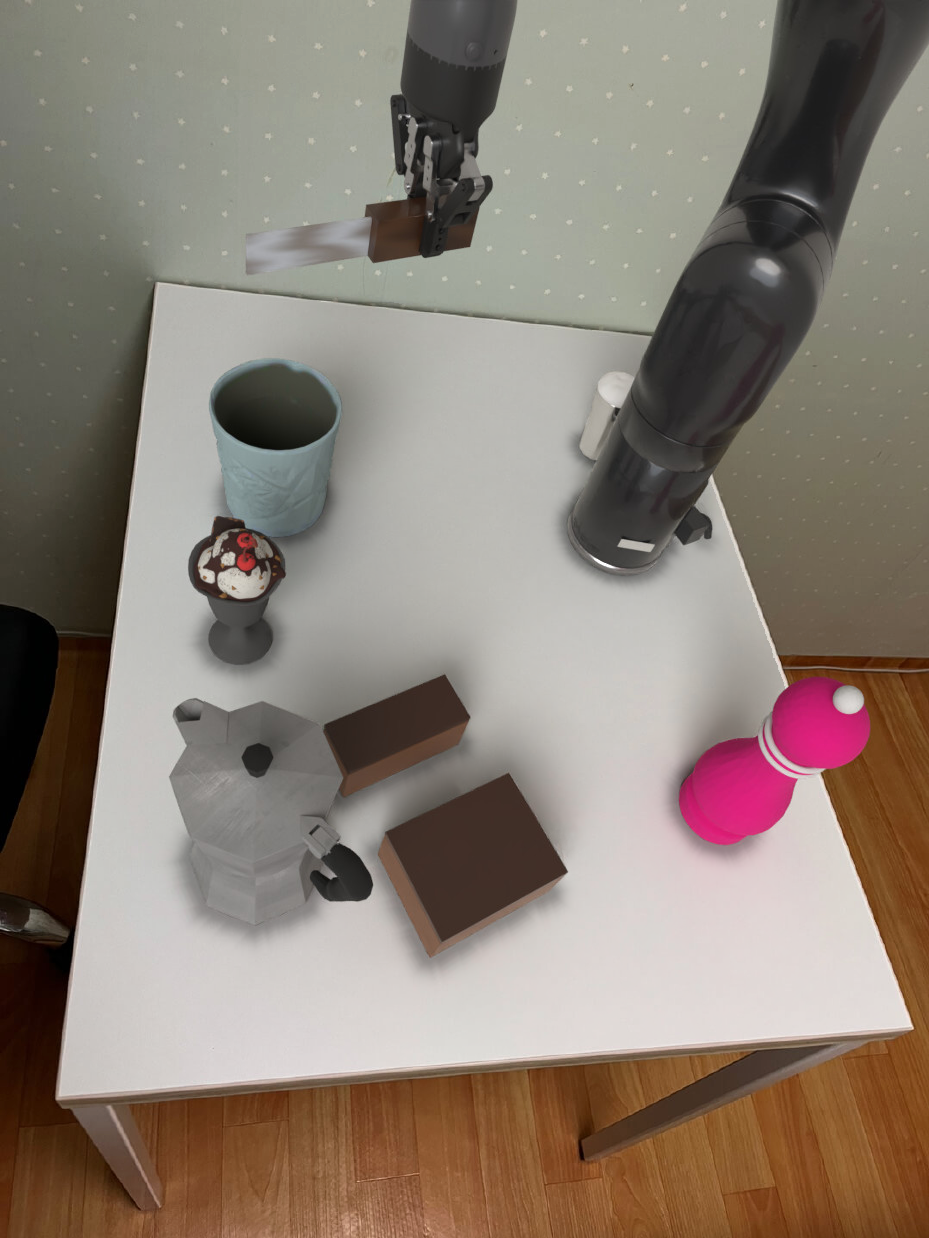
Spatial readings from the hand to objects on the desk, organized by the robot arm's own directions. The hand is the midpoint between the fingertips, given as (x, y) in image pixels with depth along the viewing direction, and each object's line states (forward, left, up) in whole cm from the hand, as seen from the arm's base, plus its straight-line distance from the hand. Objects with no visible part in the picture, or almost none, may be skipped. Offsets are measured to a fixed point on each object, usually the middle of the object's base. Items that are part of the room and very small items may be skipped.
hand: (422, 243), depth 77 cm
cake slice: (+20, +38, -14) cm, 45 cm away
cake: (+20, +48, -14) cm, 54 cm away
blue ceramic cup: (+19, +12, -15) cm, 27 cm away
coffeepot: (+32, +42, -15) cm, 55 cm away
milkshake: (-14, +17, -15) cm, 27 cm away
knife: (+6, 0, 0) cm, 6 cm away
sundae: (+27, +24, -15) cm, 39 cm away
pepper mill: (-1, +53, -15) cm, 55 cm away
